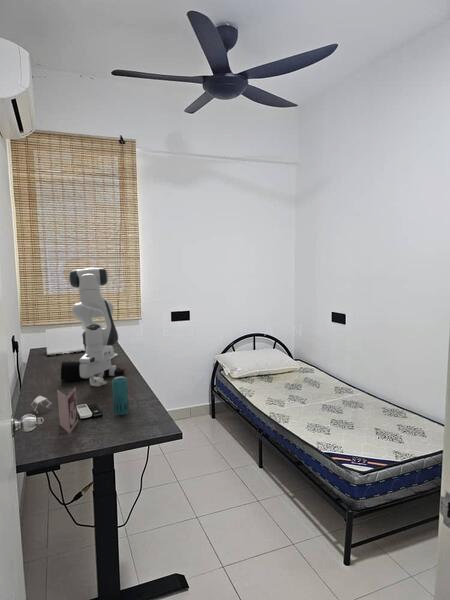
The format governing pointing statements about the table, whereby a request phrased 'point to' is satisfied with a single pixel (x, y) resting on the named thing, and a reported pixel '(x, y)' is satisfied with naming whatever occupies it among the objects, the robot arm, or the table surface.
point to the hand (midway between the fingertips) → (97, 381)
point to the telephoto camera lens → (73, 371)
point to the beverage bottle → (120, 393)
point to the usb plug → (98, 382)
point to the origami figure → (40, 401)
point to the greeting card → (68, 410)
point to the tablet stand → (64, 340)
